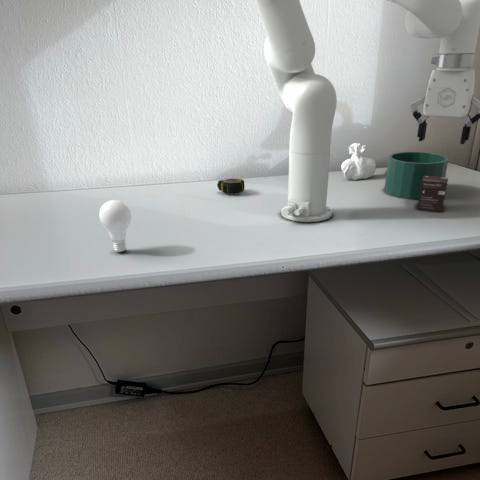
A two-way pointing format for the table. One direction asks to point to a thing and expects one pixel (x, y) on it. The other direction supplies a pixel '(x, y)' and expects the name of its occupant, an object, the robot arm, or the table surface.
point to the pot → (412, 172)
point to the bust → (358, 164)
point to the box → (432, 193)
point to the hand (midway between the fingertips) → (441, 141)
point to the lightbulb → (116, 222)
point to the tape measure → (231, 186)
